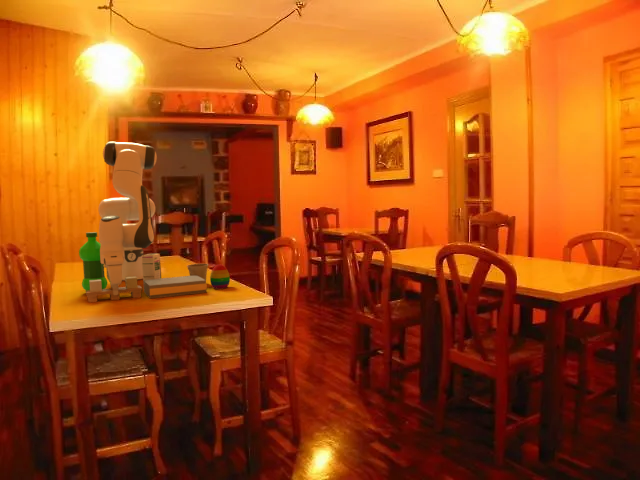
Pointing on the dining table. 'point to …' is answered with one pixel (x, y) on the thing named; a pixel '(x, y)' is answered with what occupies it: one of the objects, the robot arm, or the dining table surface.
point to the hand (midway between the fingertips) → (114, 293)
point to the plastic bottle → (92, 261)
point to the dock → (174, 286)
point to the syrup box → (151, 266)
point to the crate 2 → (131, 282)
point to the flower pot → (198, 270)
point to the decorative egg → (219, 277)
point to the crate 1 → (95, 285)
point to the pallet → (93, 295)
